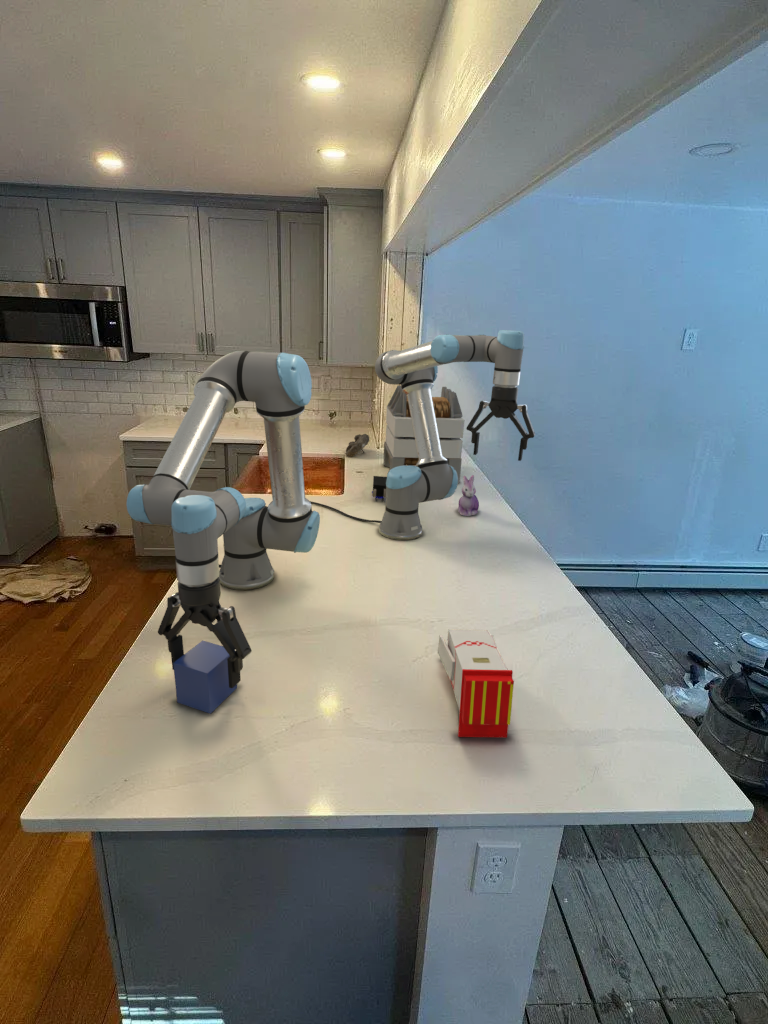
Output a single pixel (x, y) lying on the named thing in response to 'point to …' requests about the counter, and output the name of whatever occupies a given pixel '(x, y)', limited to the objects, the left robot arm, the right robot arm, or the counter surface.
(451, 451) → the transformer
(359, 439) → the fossil
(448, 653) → the toy
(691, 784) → the counter surface
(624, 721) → the counter surface
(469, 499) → the figurine
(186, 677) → the block
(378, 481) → the figurine character
